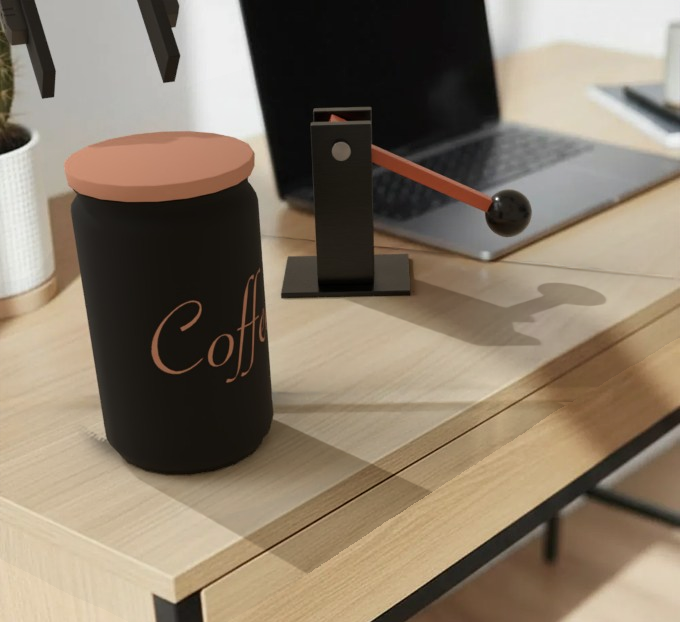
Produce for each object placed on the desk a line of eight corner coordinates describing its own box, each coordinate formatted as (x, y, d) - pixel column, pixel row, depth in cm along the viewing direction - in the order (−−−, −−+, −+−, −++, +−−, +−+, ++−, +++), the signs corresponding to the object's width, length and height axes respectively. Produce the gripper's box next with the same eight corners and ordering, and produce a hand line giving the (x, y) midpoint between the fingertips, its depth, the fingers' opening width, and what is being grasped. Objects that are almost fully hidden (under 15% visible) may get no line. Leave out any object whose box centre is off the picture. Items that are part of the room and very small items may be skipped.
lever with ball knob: (515, 235, 96) (537, 194, 94) (520, 250, 93) (542, 209, 91) (317, 147, 93) (335, 104, 91) (314, 161, 89) (333, 116, 88)
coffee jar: (169, 500, 70) (130, 199, 61) (75, 437, 77) (27, 158, 68) (308, 438, 76) (293, 154, 67) (209, 385, 83) (183, 120, 73)
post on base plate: (408, 270, 100) (407, 100, 93) (410, 308, 93) (409, 128, 86) (288, 273, 100) (278, 104, 93) (281, 311, 94) (270, 132, 86)
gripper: (157, -197, 84) (253, 92, 80) (-141, -181, 77) (-53, 133, 73) (170, -291, 77) (276, 20, 73) (-156, -282, 70) (-59, 59, 66)
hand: (111, 76), depth 73 cm, fingers open, 7 cm apart
